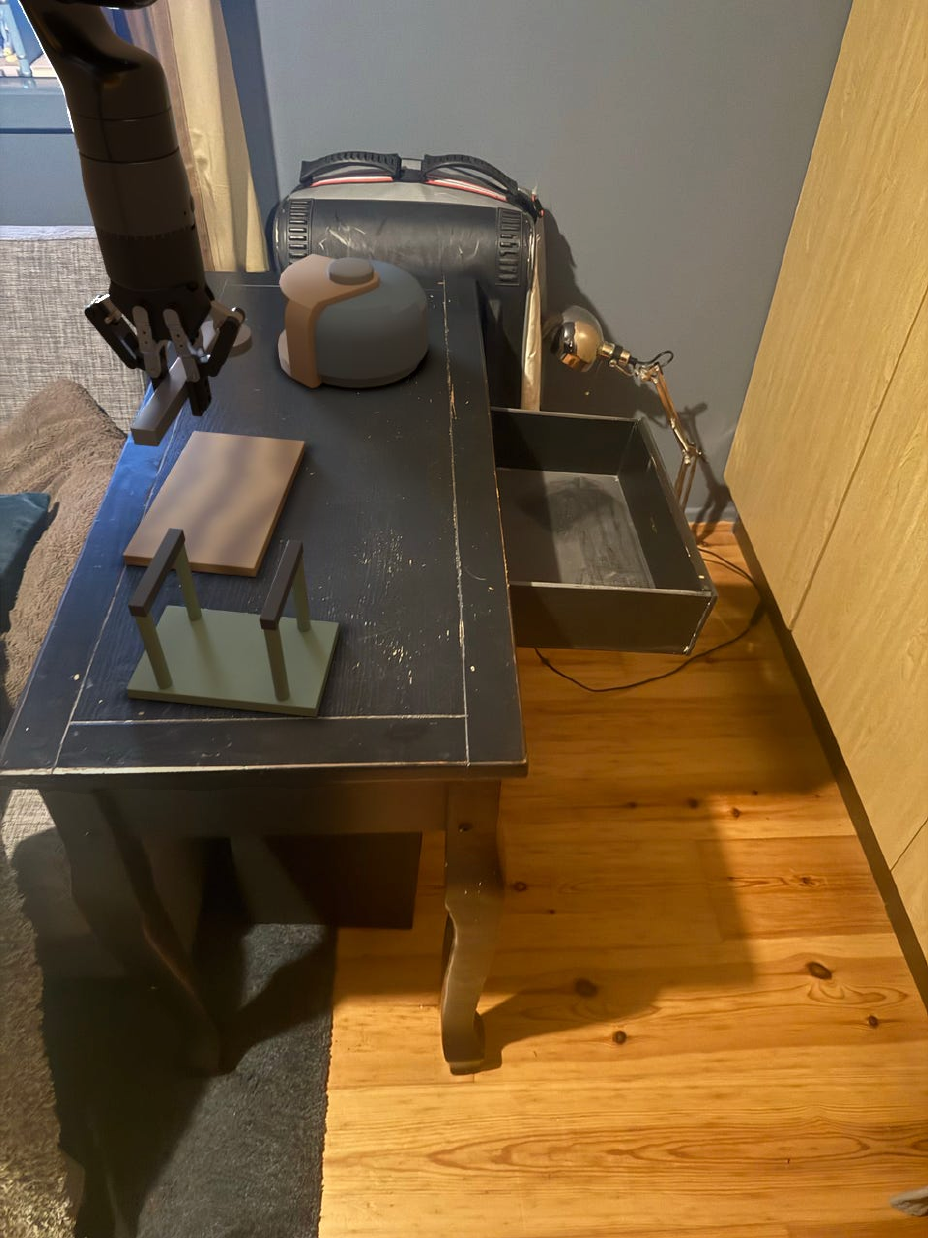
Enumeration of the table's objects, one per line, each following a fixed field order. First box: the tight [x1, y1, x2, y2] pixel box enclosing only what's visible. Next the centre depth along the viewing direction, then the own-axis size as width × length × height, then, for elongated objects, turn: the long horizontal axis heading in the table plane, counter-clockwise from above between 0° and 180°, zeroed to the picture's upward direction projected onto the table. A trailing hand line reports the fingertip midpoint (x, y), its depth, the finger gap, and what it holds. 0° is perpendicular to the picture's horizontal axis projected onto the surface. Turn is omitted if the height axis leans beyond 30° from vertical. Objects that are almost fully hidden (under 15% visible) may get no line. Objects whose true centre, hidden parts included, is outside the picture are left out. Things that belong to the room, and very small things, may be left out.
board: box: [122, 430, 307, 578], centre depth 87 cm, size 13×22×1 cm, turn 175°
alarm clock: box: [277, 253, 430, 389], centre depth 107 cm, size 19×20×12 cm
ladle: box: [129, 320, 254, 447], centre depth 76 cm, size 24×6×3 cm, turn 175°
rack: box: [125, 528, 340, 718], centre depth 68 cm, size 16×10×11 cm, turn 85°
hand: (186, 409), depth 75 cm, fingers closed on ladle, 2 cm apart
